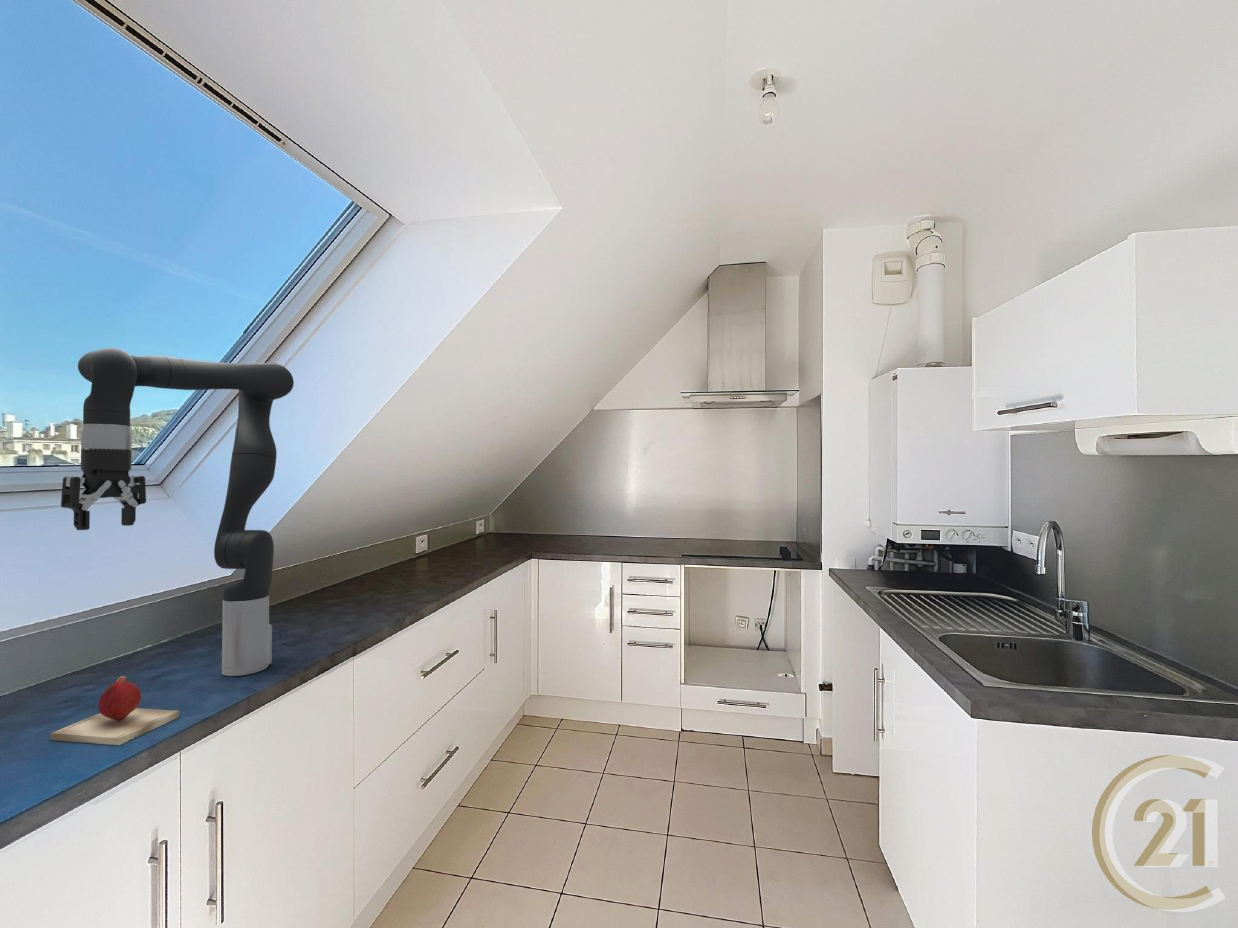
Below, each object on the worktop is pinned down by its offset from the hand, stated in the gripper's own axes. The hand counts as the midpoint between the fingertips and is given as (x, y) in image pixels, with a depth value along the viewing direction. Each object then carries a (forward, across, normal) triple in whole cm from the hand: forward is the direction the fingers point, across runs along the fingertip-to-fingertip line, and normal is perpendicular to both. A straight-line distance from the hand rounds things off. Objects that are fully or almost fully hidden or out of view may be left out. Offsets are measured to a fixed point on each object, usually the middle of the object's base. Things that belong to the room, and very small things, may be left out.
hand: (105, 527), depth 111 cm
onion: (+35, +8, +13) cm, 38 cm away
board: (+36, +8, +13) cm, 39 cm away
